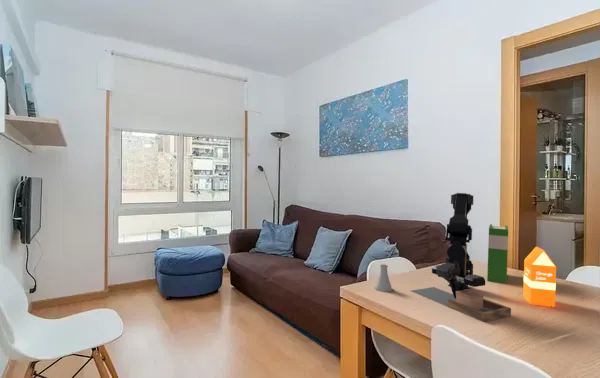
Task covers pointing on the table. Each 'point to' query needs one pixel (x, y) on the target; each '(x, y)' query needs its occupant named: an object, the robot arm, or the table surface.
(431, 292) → the runner mat
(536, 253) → the orange juice
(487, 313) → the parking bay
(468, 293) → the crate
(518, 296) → the table surface
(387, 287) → the flask
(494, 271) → the hardback book
